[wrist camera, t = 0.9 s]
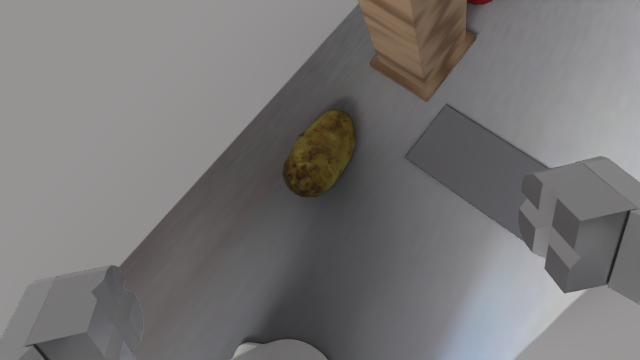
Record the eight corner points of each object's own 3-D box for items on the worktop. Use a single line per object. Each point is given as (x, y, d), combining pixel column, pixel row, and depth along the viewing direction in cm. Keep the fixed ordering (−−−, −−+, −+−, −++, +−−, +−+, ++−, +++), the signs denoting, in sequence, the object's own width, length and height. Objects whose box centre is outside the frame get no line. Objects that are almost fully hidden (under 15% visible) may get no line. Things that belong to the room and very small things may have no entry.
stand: (426, 102, 64) (408, -9, 39) (370, 66, 67) (322, -56, 43) (476, 39, 64) (488, -111, 39) (417, 6, 67) (395, -150, 43)
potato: (381, 144, 64) (371, 127, 57) (319, 212, 65) (301, 203, 57) (340, 109, 67) (325, 88, 60) (281, 174, 68) (259, 161, 60)
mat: (552, 261, 55) (552, 260, 55) (405, 157, 63) (405, 157, 63) (598, 202, 55) (599, 201, 55) (446, 105, 63) (446, 104, 63)
